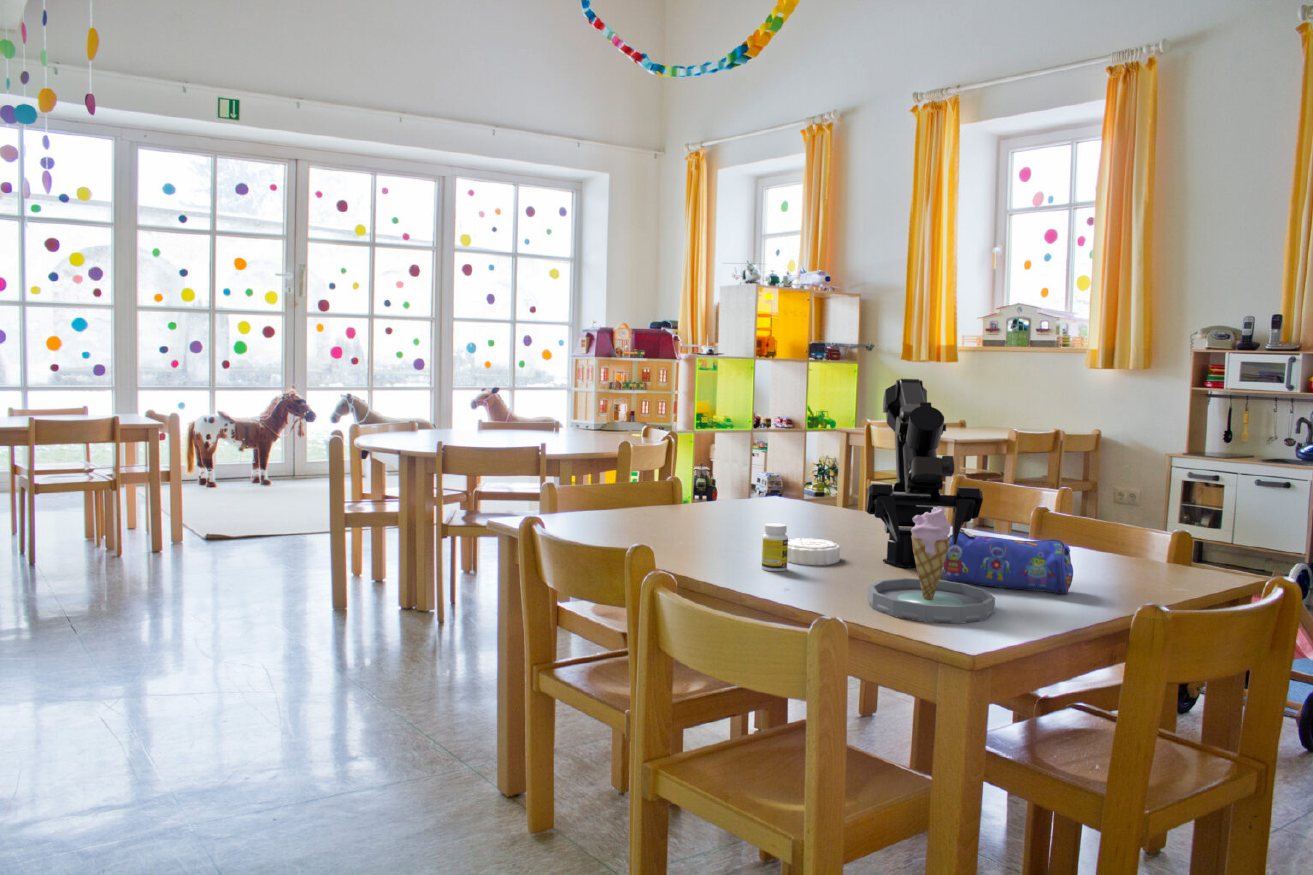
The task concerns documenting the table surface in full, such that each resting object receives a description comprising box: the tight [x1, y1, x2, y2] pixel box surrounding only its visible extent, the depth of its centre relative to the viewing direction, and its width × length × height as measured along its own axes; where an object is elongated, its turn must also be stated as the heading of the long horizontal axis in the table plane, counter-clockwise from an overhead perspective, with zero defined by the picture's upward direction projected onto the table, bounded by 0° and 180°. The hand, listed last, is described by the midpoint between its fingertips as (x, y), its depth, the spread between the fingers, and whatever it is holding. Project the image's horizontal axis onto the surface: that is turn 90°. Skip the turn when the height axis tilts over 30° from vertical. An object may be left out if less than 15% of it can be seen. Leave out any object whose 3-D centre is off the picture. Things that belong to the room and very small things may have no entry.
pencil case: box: [943, 528, 1074, 595], centre depth 170 cm, size 22×9×10 cm, turn 62°
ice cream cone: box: [911, 506, 951, 600], centre depth 154 cm, size 7×6×15 cm
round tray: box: [867, 577, 996, 624], centre depth 154 cm, size 19×19×2 cm
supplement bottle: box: [761, 522, 789, 572], centre depth 180 cm, size 5×5×8 cm
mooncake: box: [787, 537, 841, 566], centre depth 191 cm, size 12×12×4 cm
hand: (926, 541), depth 160 cm, fingers open, 9 cm apart
